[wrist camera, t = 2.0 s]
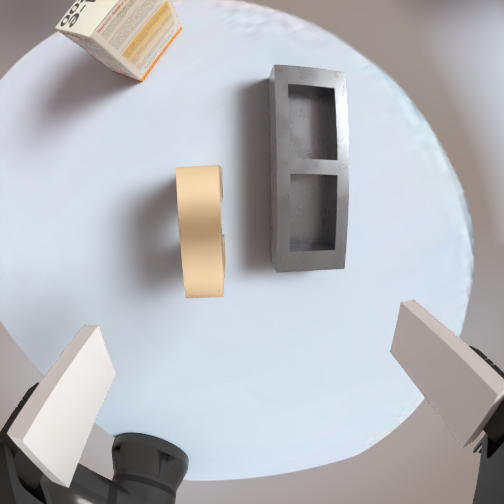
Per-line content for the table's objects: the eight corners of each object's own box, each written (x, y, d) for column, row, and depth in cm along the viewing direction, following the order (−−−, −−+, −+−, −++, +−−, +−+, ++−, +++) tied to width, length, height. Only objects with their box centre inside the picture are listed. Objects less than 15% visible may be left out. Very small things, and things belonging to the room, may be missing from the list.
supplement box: (151, 18, 21) (117, -45, 9) (183, 28, 22) (161, -40, 10) (110, 71, 23) (51, 28, 10) (141, 84, 24) (89, 36, 11)
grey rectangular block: (331, 257, 31) (344, 268, 27) (271, 259, 30) (276, 272, 27) (331, 83, 25) (344, 72, 22) (268, 77, 25) (274, 64, 21)
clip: (225, 261, 30) (223, 297, 21) (197, 262, 30) (185, 298, 21) (221, 167, 27) (217, 165, 19) (192, 169, 27) (175, 167, 18)
